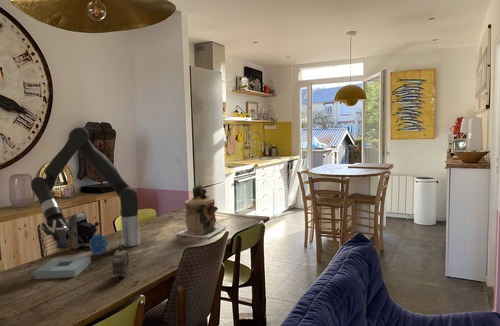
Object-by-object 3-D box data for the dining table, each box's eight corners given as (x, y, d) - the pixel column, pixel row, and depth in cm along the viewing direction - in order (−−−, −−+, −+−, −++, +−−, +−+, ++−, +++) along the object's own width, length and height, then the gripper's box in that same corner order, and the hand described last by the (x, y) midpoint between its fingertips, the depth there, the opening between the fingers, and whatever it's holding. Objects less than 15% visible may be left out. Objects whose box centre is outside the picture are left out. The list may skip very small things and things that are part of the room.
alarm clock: (119, 272, 169) (117, 238, 167) (131, 272, 169) (129, 237, 168) (112, 282, 158) (110, 245, 156) (125, 281, 158) (123, 244, 157)
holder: (90, 263, 183) (90, 256, 183) (75, 277, 165) (74, 269, 165) (54, 264, 183) (53, 258, 182) (34, 279, 165) (34, 271, 165)
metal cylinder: (69, 245, 176) (68, 224, 175) (65, 248, 171) (63, 227, 170) (59, 245, 176) (57, 225, 175) (54, 248, 171) (52, 227, 170)
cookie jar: (174, 236, 227) (171, 185, 224) (194, 226, 250) (192, 180, 247) (209, 239, 218) (207, 186, 215) (227, 228, 240) (225, 180, 238)
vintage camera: (95, 250, 205) (94, 215, 204) (71, 249, 208) (70, 214, 207) (105, 245, 215) (105, 212, 213) (82, 244, 218) (81, 211, 216)
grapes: (113, 253, 198) (112, 231, 197) (105, 257, 191) (103, 235, 190) (96, 251, 201) (94, 230, 200) (87, 256, 195) (85, 233, 194)
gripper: (37, 208, 172) (48, 238, 164) (68, 203, 182) (80, 231, 175) (34, 218, 176) (45, 247, 168) (65, 212, 186) (76, 240, 179)
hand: (63, 239), depth 172 cm, fingers closed on metal cylinder, 4 cm apart
